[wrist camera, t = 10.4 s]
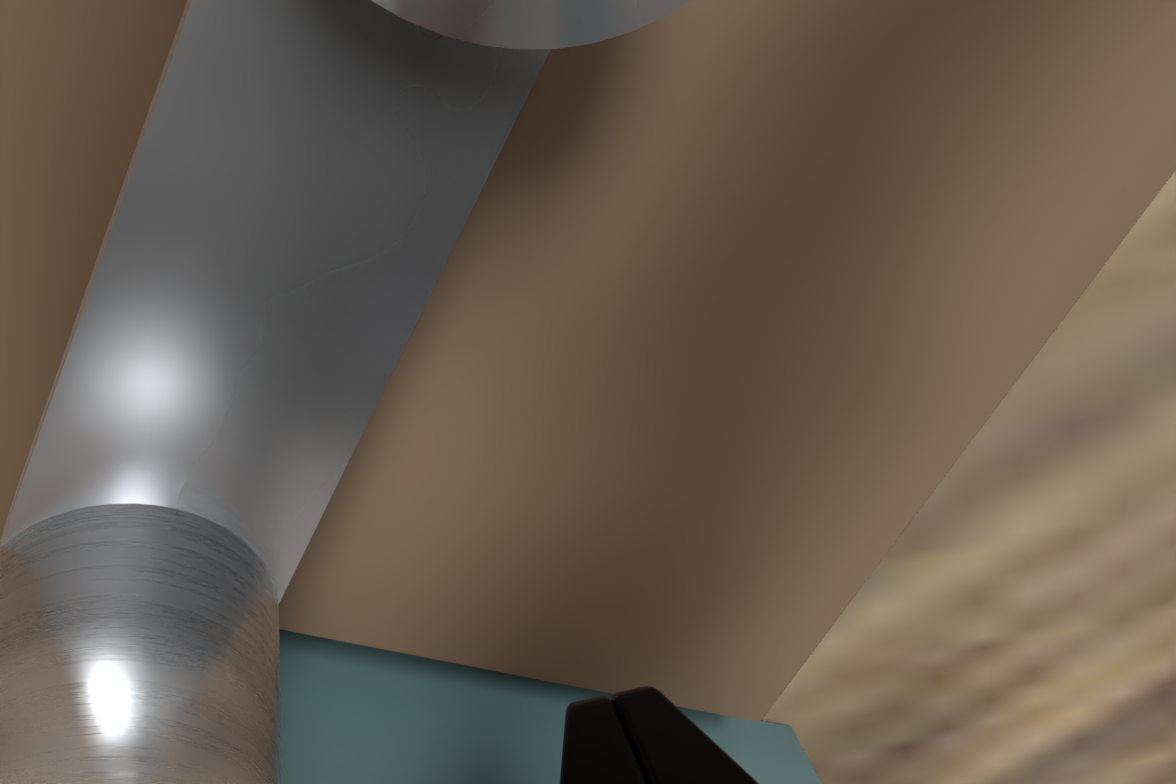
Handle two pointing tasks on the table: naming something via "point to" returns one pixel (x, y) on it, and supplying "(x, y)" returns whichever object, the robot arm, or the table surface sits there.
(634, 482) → the crank base
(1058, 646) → the table surface
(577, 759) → the robot arm
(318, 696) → the tray
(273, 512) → the crank
